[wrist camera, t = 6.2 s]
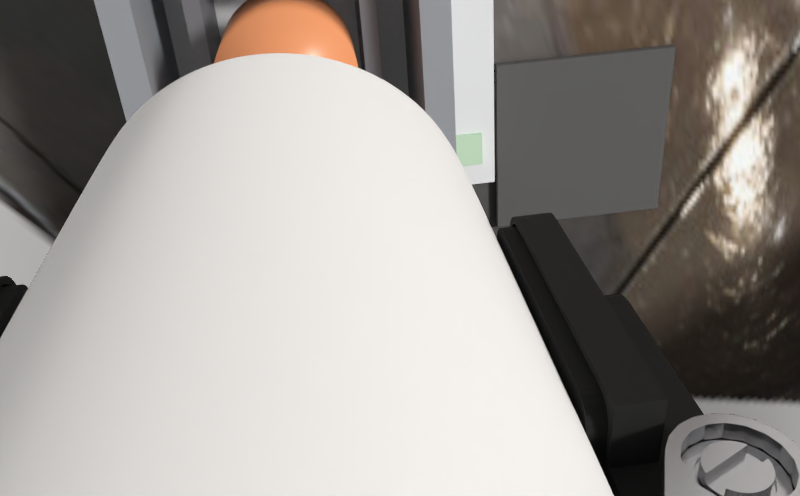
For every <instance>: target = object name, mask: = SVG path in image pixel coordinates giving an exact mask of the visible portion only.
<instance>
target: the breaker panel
mask: <svg viewBox="0 0 800 496" xmlns="http://www.w3.org/2000/svg"><path fill="white" fill-rule="evenodd" d="M245 1H247V0H94V3H95V7H96V10H97V14H98V18H99V22H100V25H101V29H102V33H103V36H104V40H105V44H106V48H107V51H108V55H109V59H110V62H111V66H112V70H113V74H114V77H115V81H116V85H117V89H118V92H119V96H120V100H121V103H122V107H123V111H124V115H125V118H126V122H127V121H128V120H129V119H130V118H131V117H132V115H133V114H134V113H135V112H136V111H137V110H138V109H139V108H140V107H141V106H142V105H143V104H144V103H145V102H147V101H148V100H149V99H150V98H151V97H152V96H154V95H155V94H156V93H158V92H159V91H160V90H162V89H163V88H165V87H166V86H168V85H169V84H171V83H172V82H174V81H176V80H177V79H179V78H181V77H183V76H185V75H187V74H189V73H191V72H193V71H195V70H198V69H200V68H203V67H205V66H208V65H211V64H214V61H215V58H216V54H217V51H218V48H219V45H220V42H221V39H222V36H223V33H224V30H225V27H226V25H227V23H228V21H229V19H230V18H231V16H232V15H233V13H234V12H235V11H236V10H237V9H238V7H240V6H241V5H242V4H243V3H244V2H245ZM324 1H325V2H326V3H328V4H329V5H330V6H331V7H332V8H333V9H335V10H336V12H337V13H338V14H339V15H340V16H341V18H342V19H343V21H344V22H345V24H346V26H347V28H348V30H349V32H350V35H351V39H352V42H353V46H354V51H355V55H356V59H357V64H358V68H360V69H362V70H364V71H367V72H369V73H371V74H373V75H375V76H377V77H379V78H381V79H383V80H385V81H386V82H388V83H390V84H391V85H393V86H394V87H396V88H397V89H399V90H400V91H402V92H403V93H404V94H406V95H407V96H408V97H410V98H411V99H412V100H413V101H414V102H415V103H417V104H418V105H419V106H420V107H421V108H422V109H423V110H424V111H425V112H426V113H427V114H428V115H429V116H430V117H431V119H432V120H433V121H434V122H435V123H436V124H437V126H438V127H439V128H440V130H441V131H442V132H443V134H444V135H445V137H446V138H447V140H448V141H449V143H450V144H451V146H452V147H453V149H454V151H455V153H456V155H457V157H458V158H459V160H460V162H461V164H462V166H463V168H464V170H465V172H466V174H467V176H468V179H469V181H470V183H471V184H479V183H487V182H495V159H494V33H493V0H324Z"/></svg>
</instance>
